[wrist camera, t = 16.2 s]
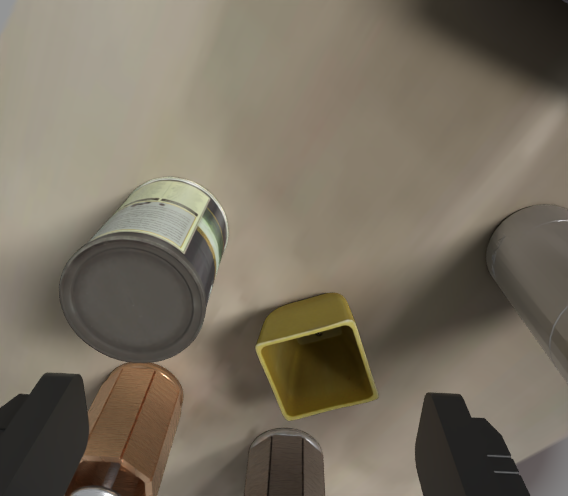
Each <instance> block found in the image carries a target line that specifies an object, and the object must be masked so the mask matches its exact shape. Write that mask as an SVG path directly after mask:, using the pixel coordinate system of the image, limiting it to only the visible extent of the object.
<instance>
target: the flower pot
mask: <svg viewBox="0 0 568 496" xmlns="http://www.w3.org/2000/svg"><path fill="white" fill-rule="evenodd" d="M318 332H322V333H321V335H317V334H316V333H318ZM255 350H256V353H257V356H258V358H259V360H260V363H261V365H262V367H263V369H264V372H265V374H266V376H267V378H268V381H269V383H270V385H271V388H272V390H273V393H274V395H275V397H276V400H277V402H278V405H279V407H280V410H281V412H282V414H283V416H284V418H285V419H286V420H287V421H292V420H296V419H301V418H304V417H308V416H311V415H315V414H319V413H323V412H326V411H330V410H334V409H339V408H343V407H349V406H353V405H358V404H362V403H367V402H370V401H373V400H375V399H378V398H379V394H378V391H377V388H376V385H375V382H374V379H373V376H372V373H371V370H370V367H369V364H368V361H367V358H366V355H365V351H364V348H363V345H362V342H361V339H360V336H359V332H358V329H357V326H356V323H355V321H354V318H353V315H352V313H351V310H350V308H349V305H348V303H347V301H346V299H345V298H344V297H343V296H342V295H340V294H338V293H326V294H322V295H319V296H315V297H312V298H308V299H305V300H301V301H297V302H294V303H290V304H287V305H284V306H282V307H279V308H277V309H275V310H274V311H273V312H271V313H270V314H269V315H268V316H267V318H266V319H265V321H264V324H263V326H262V329H261V332H260V335H259V338H258V341H257V344H256V346H255Z"/></svg>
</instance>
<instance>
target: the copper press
mask: <svg viewBox="0 0 568 496" xmlns="http://www.w3.org/2000/svg"><path fill="white" fill-rule="evenodd" d="M182 403H183V390H182V387H181V385H180V383H179V381H178V380H177V378H176V377H175V376H174V375H173V374H172V373H171V372H169V371H168V370H167V369H165V368H163V367H161V366H159V365H157V364H154V363H133V362H129V363H126V364H123V365H121V366H119V367H117V368H116V369H114V370H113V371H112V372H111V374H110V375H109V377H108V379H107V380H106V381H105V382H104V383H103V384H102V386H101V388H100V390H99V392H98V393H97V395H96V397H95V399H94V401H93V403H92V405H91V407H90V409H89V411H88V420H89V438H88V443H87V447H86V450H85V452H84V455H83V457H82V459H81V461H80V463H79V465H78V467H77V470H76V472H75V474H74V476H73V478H72V480H71V482H70V484H69V486H68V489H67V491H66V493H65V495H64V496H70V495H71V494H72V492H73V491H75V490H76V489H78V488H80V487H83V486H89V485H97V486H102V484H103V481H104V479H105V477H106V474H107V472H108V469H109V467H110V465H111V462H116V463H120V464H121V466H120V468H119V471H118V474H117V476H116V479H115V481H114V484H113V486H112V490H114V491H116V492H117V493H119V494H120V495H121V496H157V494H158V490H159V487H160V484H161V480H162V477H163V473H164V470H165V467H166V463H167V460H168V456H169V453H170V450H171V446H172V443H173V439H174V436H175V432H176V429H177V426H178V422H179V419H180V415H181V406H182Z"/></svg>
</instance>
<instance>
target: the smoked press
mask: <svg viewBox="0 0 568 496" xmlns="http://www.w3.org/2000/svg"><path fill="white" fill-rule="evenodd" d="M244 496H325V483H324V463H323V454H322V450H321V447H320V445H319V444H318V442H317V441H316V440H315V439H314V438H313V437H311V436H310V435H308V434H307V433H305V432H303V431H300V430H296V429H291V428H278V429H273V430H270V431H267V432H265V433H263V434H261V435H260V436H258V437H257V438H256V439H255V440H254V441H253V443H252V444H251V446H250V449H249V455H248V464H247V473H246V481H245V490H244Z"/></svg>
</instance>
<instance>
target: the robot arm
mask: <svg viewBox="0 0 568 496" xmlns="http://www.w3.org/2000/svg"><path fill="white" fill-rule="evenodd" d="M486 261H487V267H488V269H489V272H490V274H491V276H492V277H493V279H494V280H495V281H496V283H497V284H498V286H499V287H500V289H501V290H502V292H503V293H504V294H505V296H506V298H507V299H508V300H509V302H510V303H511V305H512V306H513V307H514V309H515V310H516V312H517V313H518V315H519V316H520V317H521V319H522V320H523V322H524V323H525V324H526V326H527V327H528V329H529V330H530V332H531V333H532V334H533V336H534V337H535V339H536V340H537V341H538V343H539V344H540V346H541V347H542V349H543V350H544V351H545V353H546V354H547V356H548V357H549V358H550V360H551V361H552V363H553V364H554V366H555V367H556V368H557V370H558V371H559V372H560V374H561V375H562V377H563V378H564V379H565V381H566V382H567V384H568V210H567V209H566V208H563V207H559V206H556V205H546V204H543V205H535V206H531V207H527V208H524V209H522V210H520V211H518V212H516V213H514V214H512V215H511V216H509V217H508V218H507V219H505V220H504V221H503V222H502V223H501V224H500V225H499V226H498V228H497V229H496V230H495V232H494V233H493V235H492V236H491V238H490V241H489V244H488V246H487V252H486ZM88 438H89V420H88V413H87V406H86V399H85V391H84V384H83V379H82V377H81V375H79V374H66V373H45V374H44V375H43V376H42V377H41V378H40V380H39V381H38V383H37V384H36V386H35V387H34V389H33V390H32V392H31V393H30V394H29V395H28V394H18V395H17V396H16V397H14V398H13V399H12V400H10V401H9V402H8V403H6V404H5V405H4V406H2V407H1V408H0V496H64V495H65V493H66V491H67V489H68V486H69V484H70V482H71V480H72V478H73V476H74V474H75V472H76V470H77V467H78V465H79V463H80V461H81V459H82V457H83V455H84V452H85V450H86V447H87V443H88ZM415 461H416V468H417V473H418V477H419V481H420V484H421V488H422V492H423V496H530V494H529V492H528V490H527V488H526V486H525V484H524V481H523V479H522V477H521V476H520V475H519V471H518V469H517V467H516V465H515V463H514V460H513V459H511V454H510V452H509V450H508V448H507V446H506V444H505V442H504V439H503V437H502V435H501V434H500V433H499V432H498V431H497V430H496V429H495V428H494V427H493V426H492V425H491V424H490V423H489V422H488V421H487V420H486V419H485V418H471V416H470V413H469V411H468V409H467V406H466V404H465V401H464V399H463V397H462V396H461V395H460V394H450V393H429V392H428V393H426V395H425V398H424V402H423V407H422V412H421V417H420V423H419V428H418V433H417V438H416V444H415Z"/></svg>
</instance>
